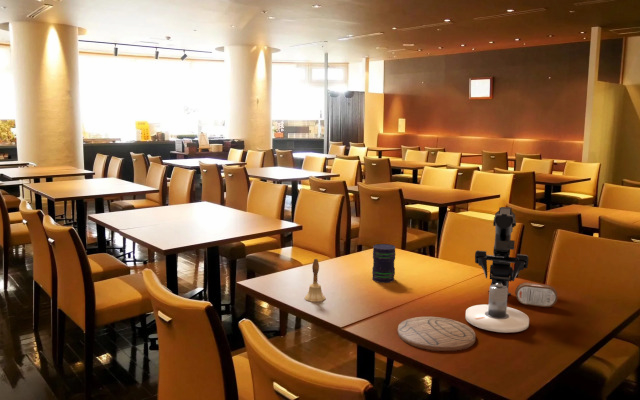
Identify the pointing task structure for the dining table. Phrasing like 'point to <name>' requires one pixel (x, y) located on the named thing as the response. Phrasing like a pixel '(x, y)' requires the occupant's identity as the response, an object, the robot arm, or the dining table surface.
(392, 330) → the dining table surface
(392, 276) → the storage jar
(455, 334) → the trivet
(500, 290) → the grey metal cylinder
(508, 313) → the turntable
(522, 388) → the dining table surface
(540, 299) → the tin
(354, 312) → the dining table surface
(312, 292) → the hand bell
